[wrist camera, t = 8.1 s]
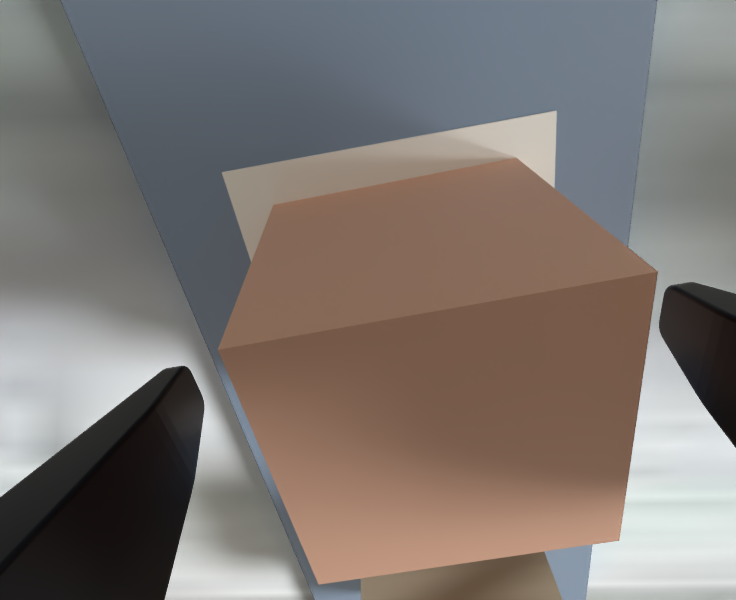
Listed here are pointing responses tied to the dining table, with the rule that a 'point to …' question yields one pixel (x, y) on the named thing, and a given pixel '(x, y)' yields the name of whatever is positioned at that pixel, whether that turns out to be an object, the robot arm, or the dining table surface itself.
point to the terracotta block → (442, 370)
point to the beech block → (469, 581)
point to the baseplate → (358, 125)
